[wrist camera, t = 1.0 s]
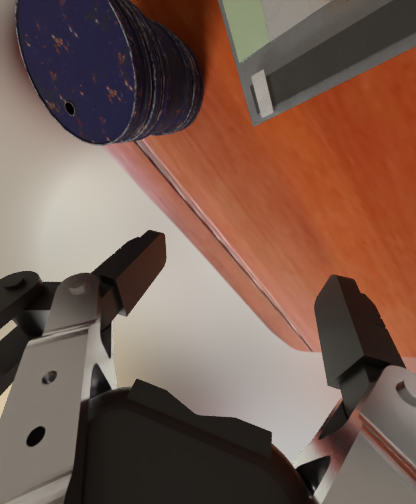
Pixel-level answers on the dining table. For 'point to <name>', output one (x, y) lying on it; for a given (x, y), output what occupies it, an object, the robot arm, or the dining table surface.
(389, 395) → the robot arm
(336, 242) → the dining table surface
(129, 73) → the dark blue cylinder
